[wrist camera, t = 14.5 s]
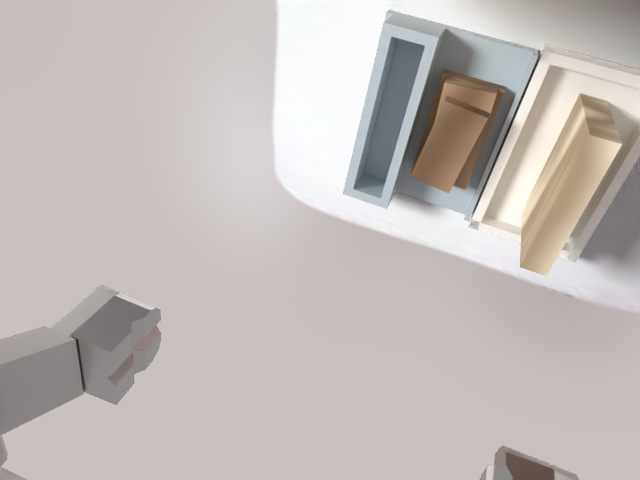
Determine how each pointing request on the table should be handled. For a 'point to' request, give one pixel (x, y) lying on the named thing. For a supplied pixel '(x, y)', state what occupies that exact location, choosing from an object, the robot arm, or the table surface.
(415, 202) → the table surface
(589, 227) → the tray
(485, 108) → the offcut
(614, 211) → the table surface
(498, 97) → the offcut
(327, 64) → the table surface
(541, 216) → the maple sheet
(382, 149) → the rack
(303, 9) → the table surface
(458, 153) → the offcut
